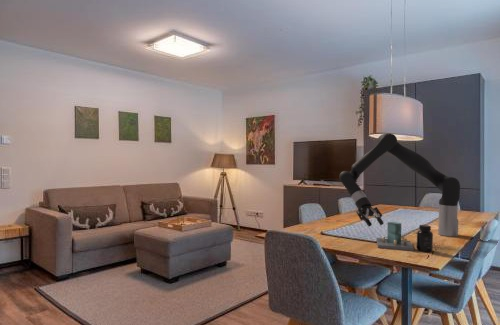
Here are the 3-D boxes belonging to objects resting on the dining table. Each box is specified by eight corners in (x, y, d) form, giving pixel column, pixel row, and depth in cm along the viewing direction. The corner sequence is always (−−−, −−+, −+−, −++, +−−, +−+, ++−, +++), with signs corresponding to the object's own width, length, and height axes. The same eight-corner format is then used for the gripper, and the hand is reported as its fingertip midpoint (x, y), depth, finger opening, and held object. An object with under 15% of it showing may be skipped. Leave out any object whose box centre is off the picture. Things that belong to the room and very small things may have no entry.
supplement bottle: (413, 248, 167) (414, 224, 166) (426, 248, 167) (427, 224, 167) (421, 252, 160) (422, 227, 160) (435, 252, 160) (436, 227, 160)
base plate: (409, 243, 176) (410, 235, 176) (413, 251, 163) (413, 242, 162) (376, 240, 181) (376, 233, 181) (377, 247, 168) (377, 239, 167)
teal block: (393, 241, 175) (393, 221, 175) (401, 243, 171) (401, 223, 171) (387, 242, 173) (387, 222, 172) (394, 244, 169) (395, 224, 168)
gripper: (354, 197, 186) (370, 222, 176) (373, 195, 193) (390, 219, 183) (347, 205, 191) (362, 230, 181) (366, 204, 197) (382, 227, 187)
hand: (376, 225), depth 182 cm, fingers open, 8 cm apart
